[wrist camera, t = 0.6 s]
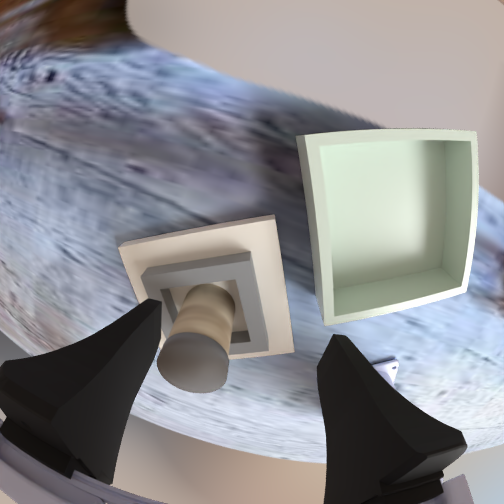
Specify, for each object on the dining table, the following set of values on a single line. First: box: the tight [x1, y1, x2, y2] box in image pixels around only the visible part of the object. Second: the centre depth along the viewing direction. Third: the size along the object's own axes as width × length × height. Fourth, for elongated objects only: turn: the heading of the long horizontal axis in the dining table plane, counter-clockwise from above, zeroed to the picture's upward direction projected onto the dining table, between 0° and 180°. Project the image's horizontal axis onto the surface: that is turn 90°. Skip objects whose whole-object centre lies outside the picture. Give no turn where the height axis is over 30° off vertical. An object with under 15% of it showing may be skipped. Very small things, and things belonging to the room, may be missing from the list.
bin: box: [296, 128, 479, 326], centre depth 17 cm, size 12×12×4 cm
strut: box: [157, 284, 235, 393], centre depth 18 cm, size 4×4×7 cm
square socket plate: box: [118, 214, 294, 360], centre depth 21 cm, size 12×12×3 cm
